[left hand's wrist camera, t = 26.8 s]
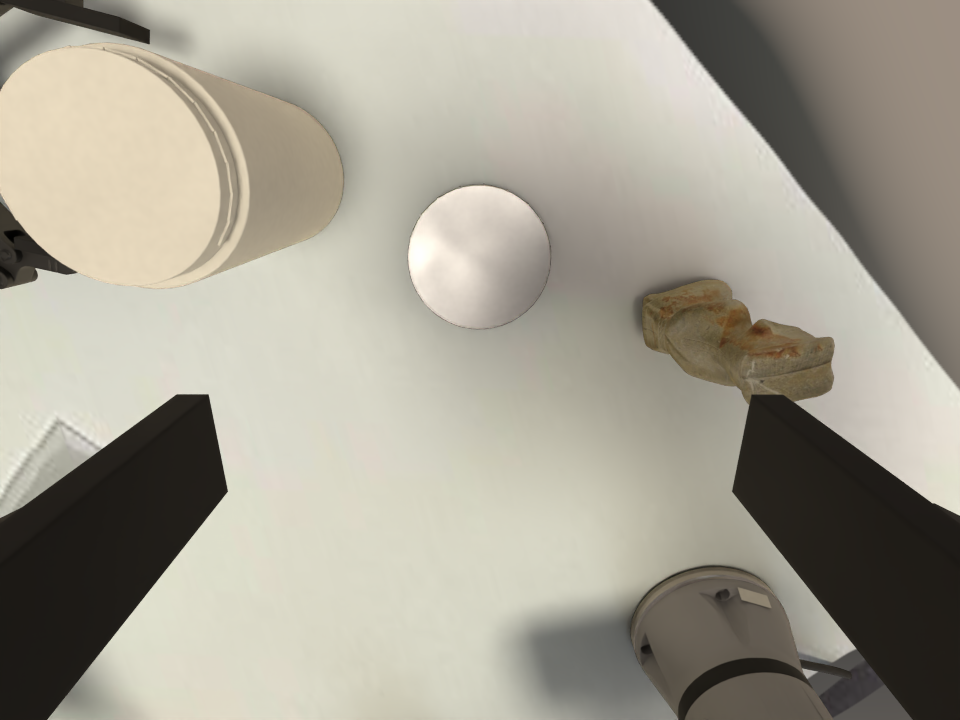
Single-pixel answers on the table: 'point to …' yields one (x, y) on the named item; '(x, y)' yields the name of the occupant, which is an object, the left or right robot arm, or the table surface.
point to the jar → (158, 166)
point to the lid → (479, 256)
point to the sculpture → (735, 343)
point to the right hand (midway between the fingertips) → (135, 156)
